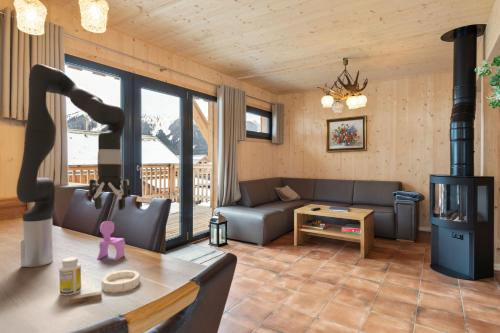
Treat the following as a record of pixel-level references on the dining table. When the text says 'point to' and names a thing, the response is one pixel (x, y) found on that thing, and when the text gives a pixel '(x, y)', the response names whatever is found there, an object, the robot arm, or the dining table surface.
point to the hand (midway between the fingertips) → (110, 209)
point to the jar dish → (120, 281)
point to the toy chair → (110, 241)
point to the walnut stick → (85, 298)
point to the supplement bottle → (70, 276)
